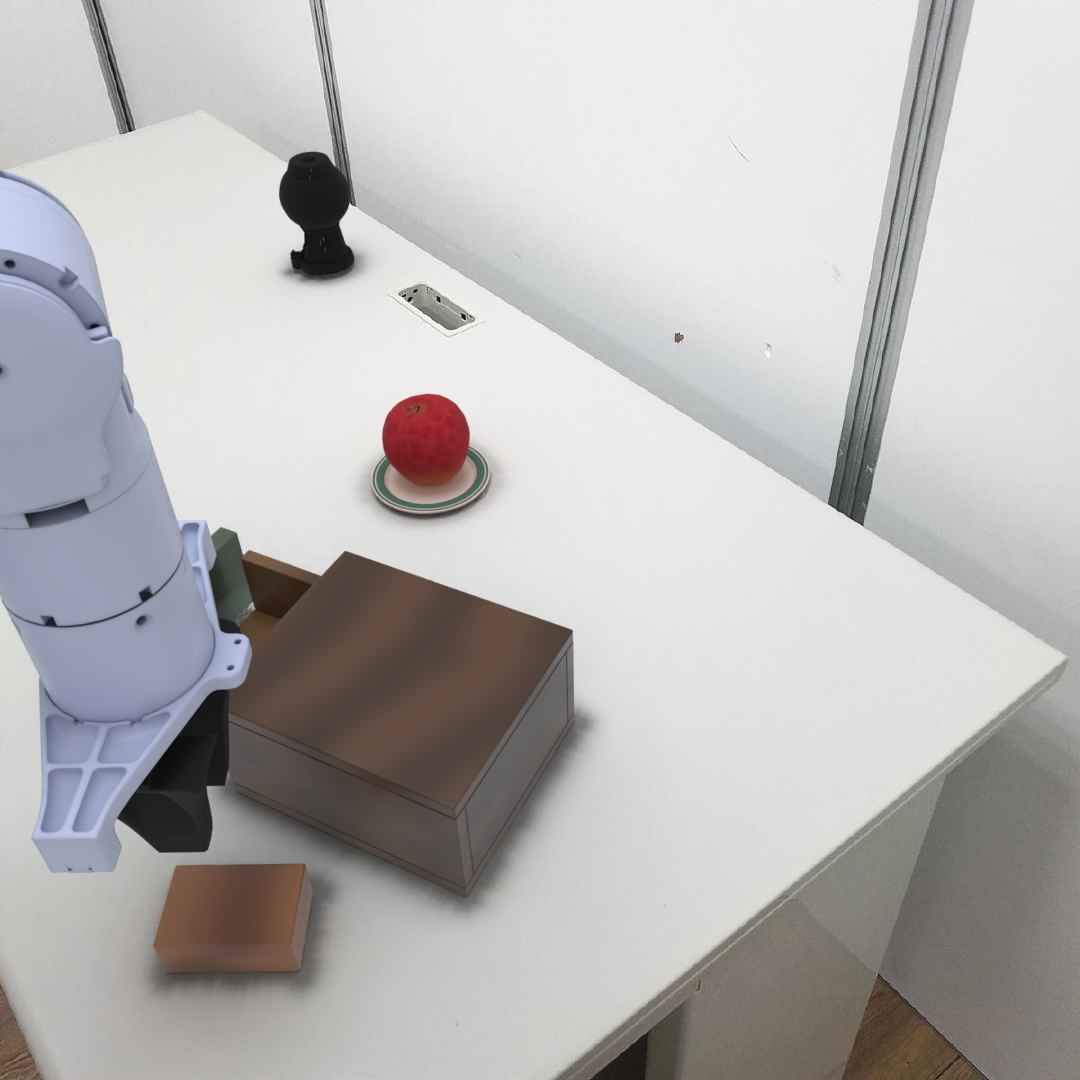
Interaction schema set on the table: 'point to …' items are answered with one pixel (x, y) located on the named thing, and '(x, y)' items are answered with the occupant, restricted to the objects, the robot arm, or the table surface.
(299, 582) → the drawer
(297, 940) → the brown rectangular block
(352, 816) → the cabinet
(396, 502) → the red apple on plate
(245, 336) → the table surface
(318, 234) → the gumball machine
